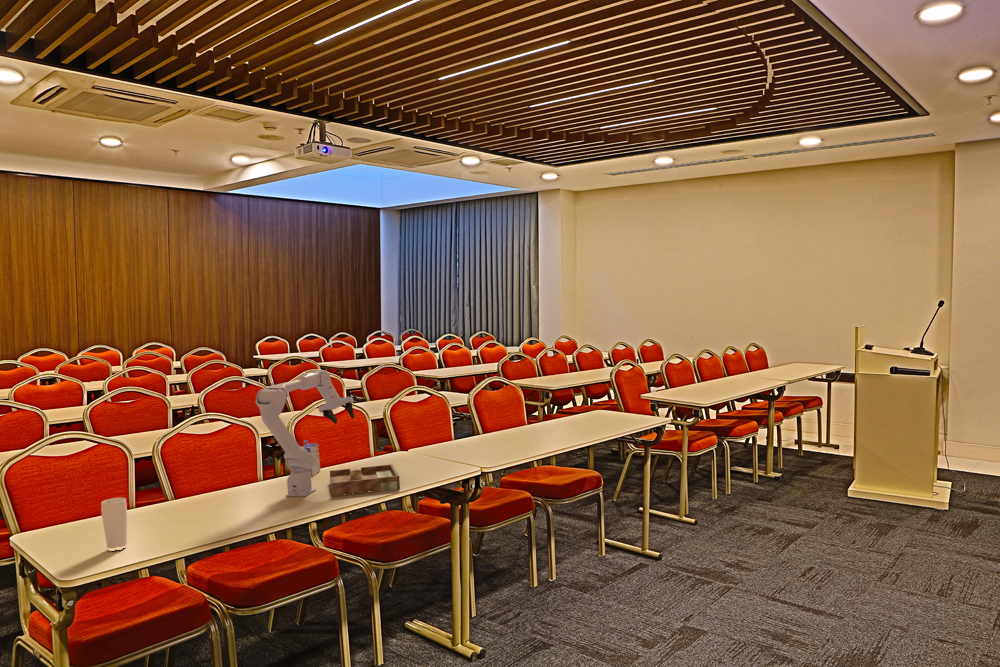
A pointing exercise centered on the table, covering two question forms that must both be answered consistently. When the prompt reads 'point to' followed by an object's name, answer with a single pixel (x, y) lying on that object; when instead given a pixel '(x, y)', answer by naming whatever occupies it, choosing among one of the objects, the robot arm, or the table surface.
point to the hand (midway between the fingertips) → (344, 419)
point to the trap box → (365, 480)
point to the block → (355, 474)
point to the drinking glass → (115, 521)
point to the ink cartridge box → (315, 452)
